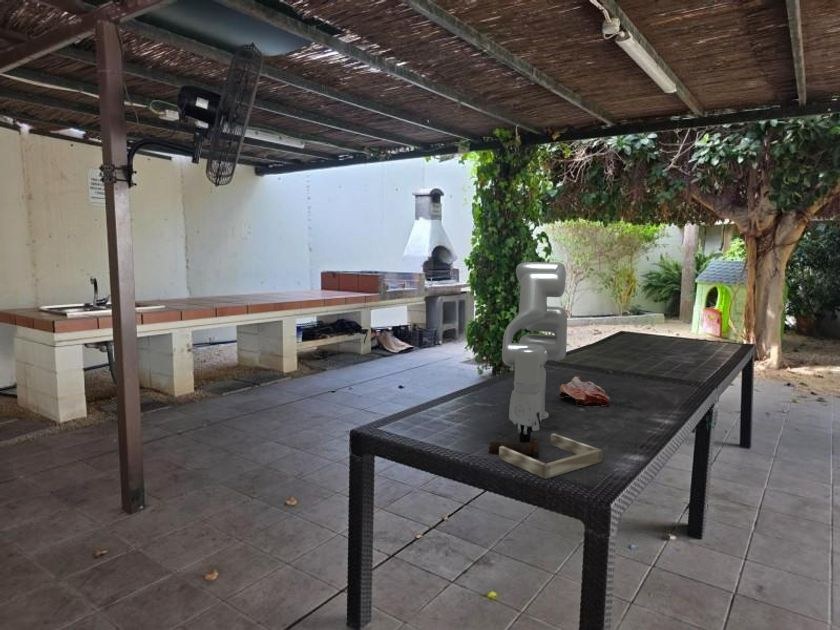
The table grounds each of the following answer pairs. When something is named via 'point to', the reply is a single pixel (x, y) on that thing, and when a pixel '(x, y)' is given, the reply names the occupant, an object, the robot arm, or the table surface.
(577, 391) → the meat
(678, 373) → the table surface
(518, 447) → the bolt
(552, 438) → the bay
